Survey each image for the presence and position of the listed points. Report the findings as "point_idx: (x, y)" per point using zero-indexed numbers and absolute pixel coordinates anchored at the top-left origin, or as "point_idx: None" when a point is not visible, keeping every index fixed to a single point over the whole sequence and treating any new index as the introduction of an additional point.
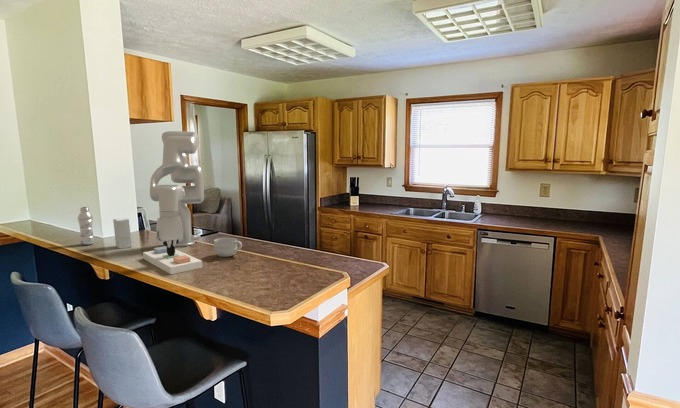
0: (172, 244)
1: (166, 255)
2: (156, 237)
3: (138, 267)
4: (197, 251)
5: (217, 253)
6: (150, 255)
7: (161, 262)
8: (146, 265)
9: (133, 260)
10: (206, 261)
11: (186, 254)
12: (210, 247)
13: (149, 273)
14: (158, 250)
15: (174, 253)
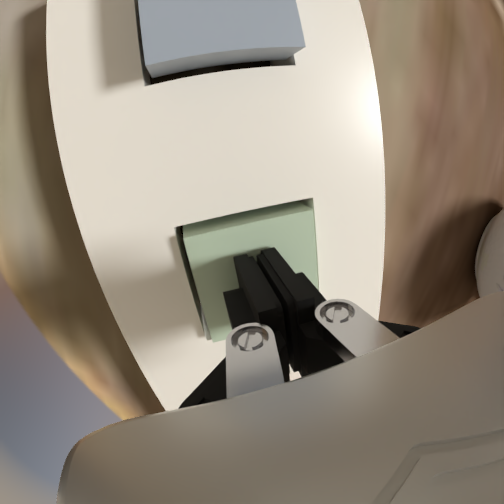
0: (323, 369)
1: (213, 270)
2: (63, 489)
3: (12, 243)
4: (453, 52)
5: (479, 279)
6: (66, 114)
7: (157, 397)
8: (54, 216)
9: (7, 21)
10: (410, 309)
11: (378, 268)
12: (496, 43)
13: (97, 392)
14: (153, 64)
15: (306, 225)
